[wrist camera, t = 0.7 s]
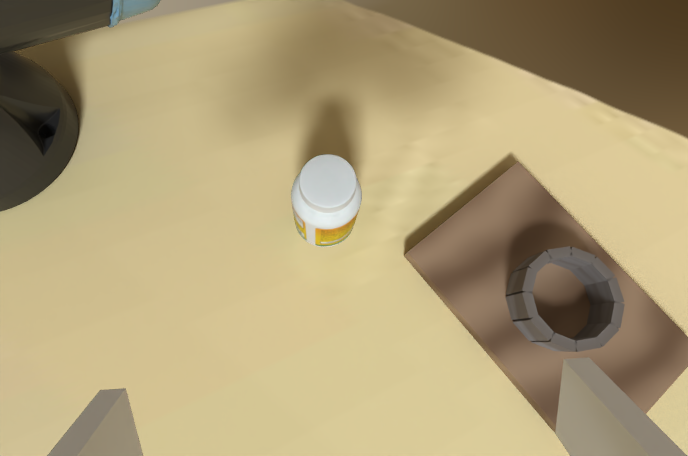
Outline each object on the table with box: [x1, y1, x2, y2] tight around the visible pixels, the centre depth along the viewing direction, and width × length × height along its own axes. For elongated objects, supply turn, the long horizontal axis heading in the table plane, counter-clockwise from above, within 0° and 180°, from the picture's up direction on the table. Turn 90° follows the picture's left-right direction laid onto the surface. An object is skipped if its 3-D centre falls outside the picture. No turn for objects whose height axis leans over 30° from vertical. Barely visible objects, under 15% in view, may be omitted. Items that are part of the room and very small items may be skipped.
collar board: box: [404, 162, 688, 432], centre depth 34 cm, size 22×14×4 cm, turn 39°
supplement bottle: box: [291, 154, 362, 247], centre depth 33 cm, size 5×5×10 cm
